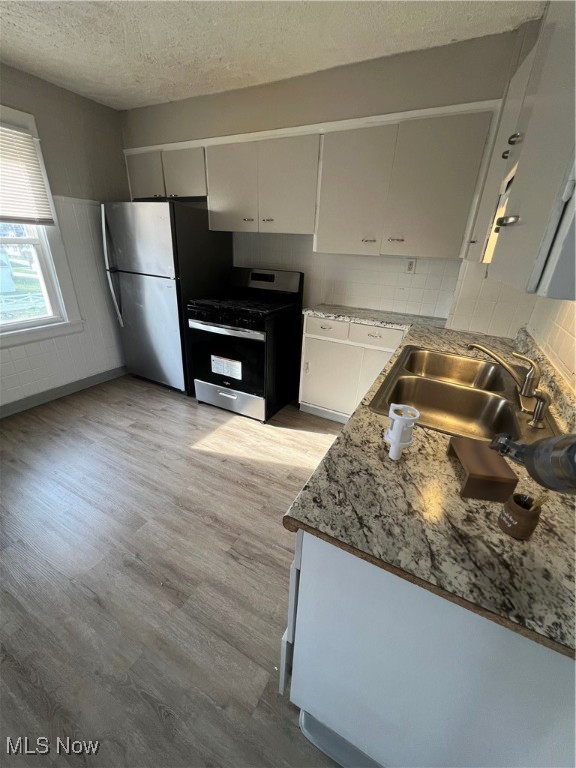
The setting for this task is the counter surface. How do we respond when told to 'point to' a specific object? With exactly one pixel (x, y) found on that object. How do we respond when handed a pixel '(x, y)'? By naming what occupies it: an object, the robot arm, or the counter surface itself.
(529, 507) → the utensil holder
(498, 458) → the wooden pedestal stand
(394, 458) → the strainer
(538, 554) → the counter surface
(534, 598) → the counter surface
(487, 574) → the counter surface
